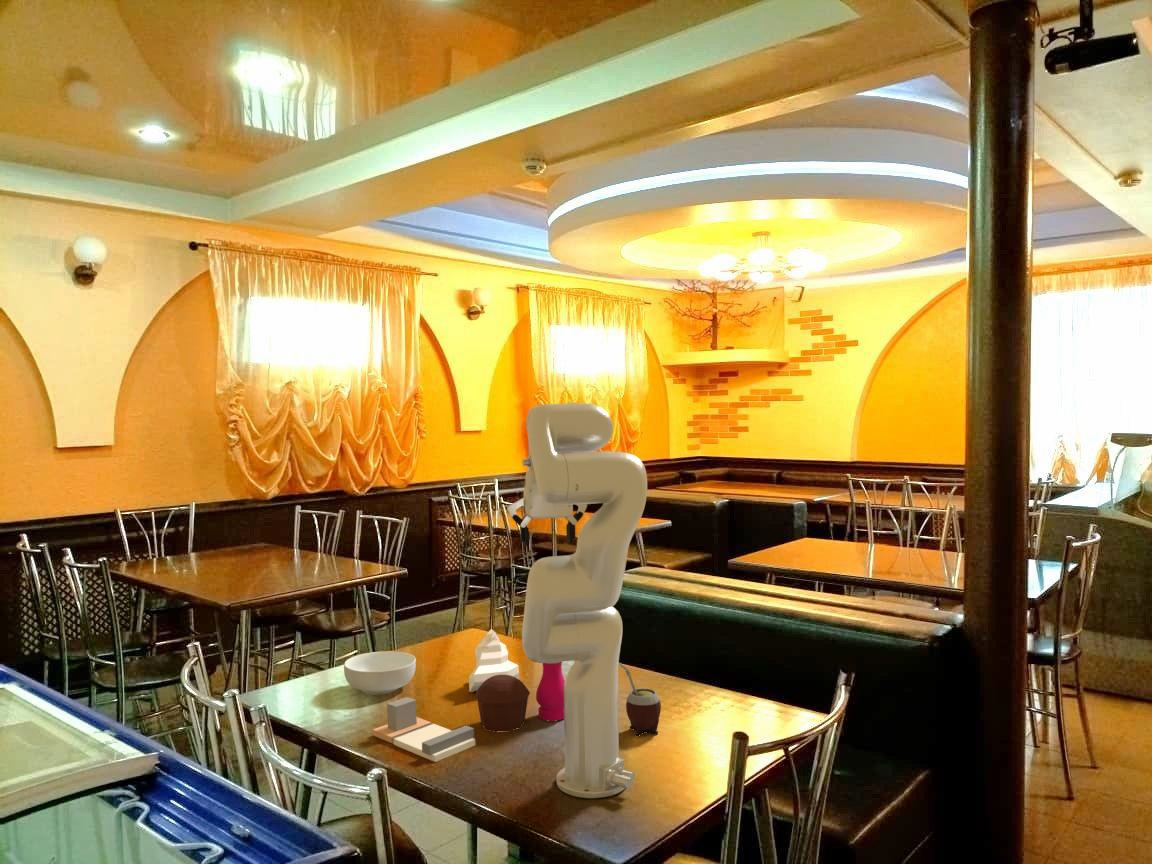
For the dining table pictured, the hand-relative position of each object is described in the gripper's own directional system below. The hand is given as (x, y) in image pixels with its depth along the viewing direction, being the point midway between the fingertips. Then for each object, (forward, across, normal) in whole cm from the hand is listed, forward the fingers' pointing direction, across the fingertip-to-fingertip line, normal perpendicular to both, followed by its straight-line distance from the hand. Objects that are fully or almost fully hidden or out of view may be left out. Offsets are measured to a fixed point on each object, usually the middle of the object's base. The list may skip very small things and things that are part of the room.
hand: (548, 544), depth 174 cm
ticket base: (+37, -26, -8) cm, 46 cm away
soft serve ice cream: (+38, -9, +24) cm, 45 cm away
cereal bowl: (+38, -35, +29) cm, 59 cm away
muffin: (+38, -11, -1) cm, 39 cm away
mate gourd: (+38, +16, -13) cm, 43 cm away
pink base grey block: (+37, -31, +1) cm, 49 cm away
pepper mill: (+38, 0, 0) cm, 38 cm away
